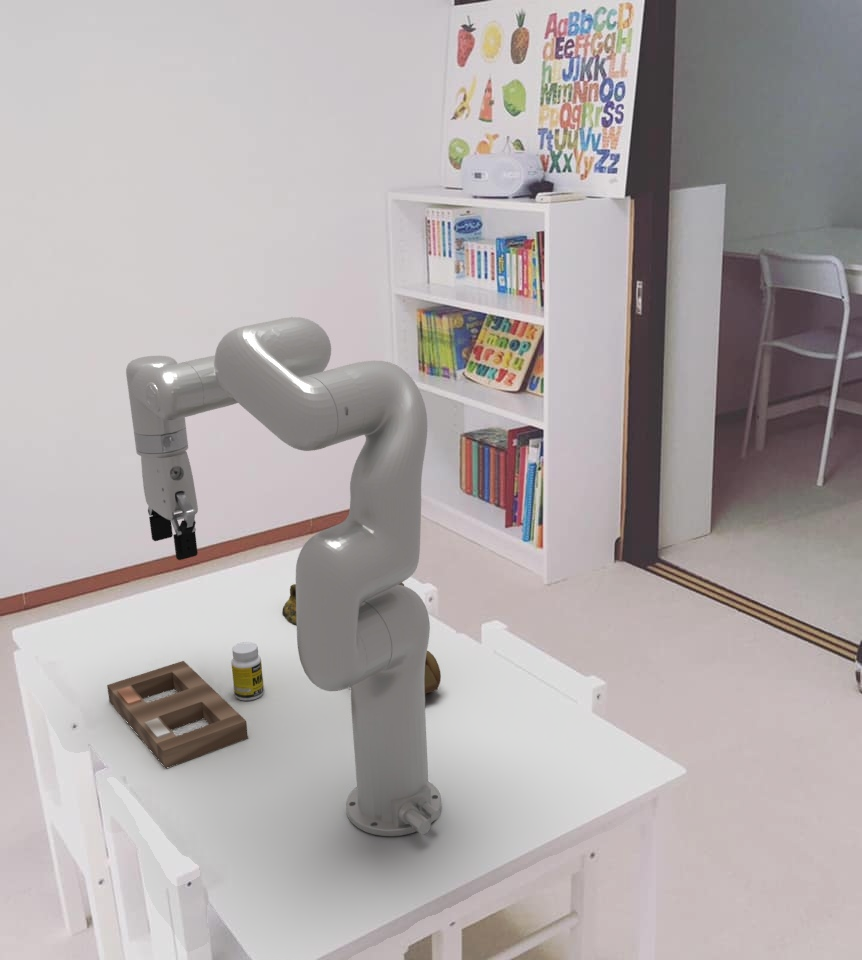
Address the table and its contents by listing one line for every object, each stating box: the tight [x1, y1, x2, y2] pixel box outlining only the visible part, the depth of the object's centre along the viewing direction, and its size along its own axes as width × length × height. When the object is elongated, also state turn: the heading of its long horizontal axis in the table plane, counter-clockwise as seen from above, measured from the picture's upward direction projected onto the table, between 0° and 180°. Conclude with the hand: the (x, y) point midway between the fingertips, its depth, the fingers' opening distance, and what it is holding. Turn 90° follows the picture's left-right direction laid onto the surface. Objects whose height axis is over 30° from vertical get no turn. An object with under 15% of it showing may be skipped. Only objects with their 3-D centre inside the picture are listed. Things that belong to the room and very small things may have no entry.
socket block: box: [106, 660, 249, 769], centre depth 168 cm, size 24×13×3 cm, turn 35°
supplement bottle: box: [230, 641, 265, 702], centre depth 173 cm, size 5×5×8 cm
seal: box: [282, 583, 297, 627], centre depth 202 cm, size 9×5×15 cm
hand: (174, 547), depth 165 cm, fingers open, 9 cm apart
